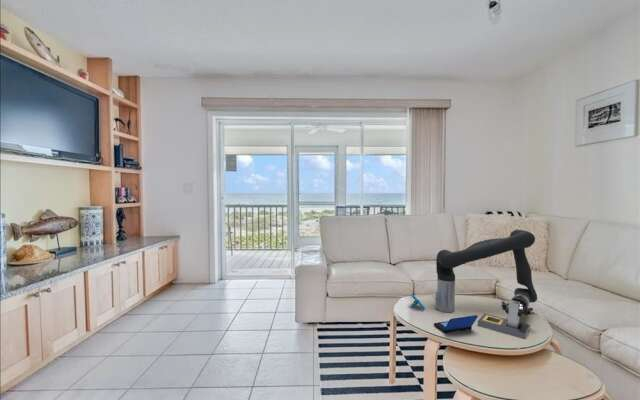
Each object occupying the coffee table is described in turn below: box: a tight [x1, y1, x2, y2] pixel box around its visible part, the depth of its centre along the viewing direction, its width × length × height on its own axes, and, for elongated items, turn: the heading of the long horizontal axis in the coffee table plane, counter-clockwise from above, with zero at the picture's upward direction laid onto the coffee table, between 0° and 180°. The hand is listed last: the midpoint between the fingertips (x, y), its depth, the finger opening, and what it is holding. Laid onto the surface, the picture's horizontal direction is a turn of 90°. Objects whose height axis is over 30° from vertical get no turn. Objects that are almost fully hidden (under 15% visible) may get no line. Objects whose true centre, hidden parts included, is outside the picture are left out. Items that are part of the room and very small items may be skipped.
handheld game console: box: [433, 314, 479, 334], centre depth 151 cm, size 16×13×9 cm
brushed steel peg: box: [507, 299, 520, 329], centre depth 150 cm, size 4×4×12 cm
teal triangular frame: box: [410, 294, 426, 310], centre depth 178 cm, size 11×6×10 cm
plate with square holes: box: [477, 313, 531, 340], centre depth 154 cm, size 20×12×3 cm, turn 48°
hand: (512, 312), depth 148 cm, fingers closed on brushed steel peg, 4 cm apart
